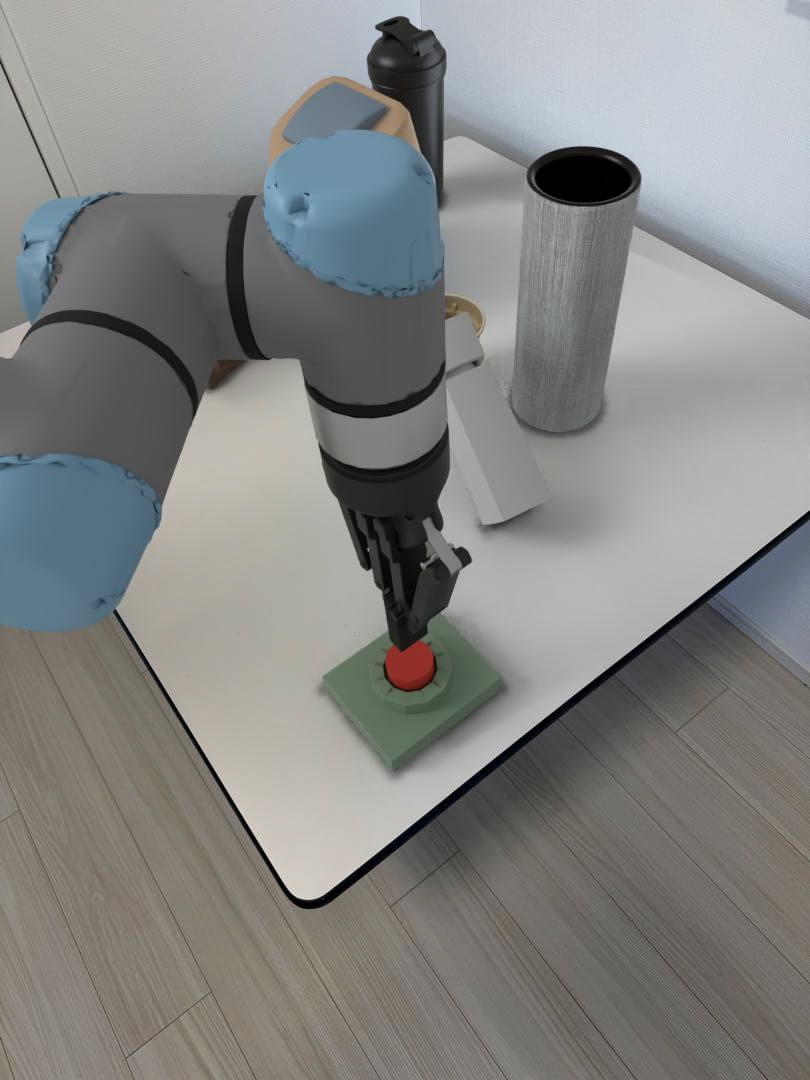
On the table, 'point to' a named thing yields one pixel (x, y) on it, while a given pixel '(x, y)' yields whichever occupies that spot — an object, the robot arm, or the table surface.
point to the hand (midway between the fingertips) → (409, 636)
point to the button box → (412, 693)
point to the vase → (571, 282)
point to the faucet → (487, 432)
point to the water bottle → (413, 83)
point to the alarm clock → (340, 115)
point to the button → (410, 666)
